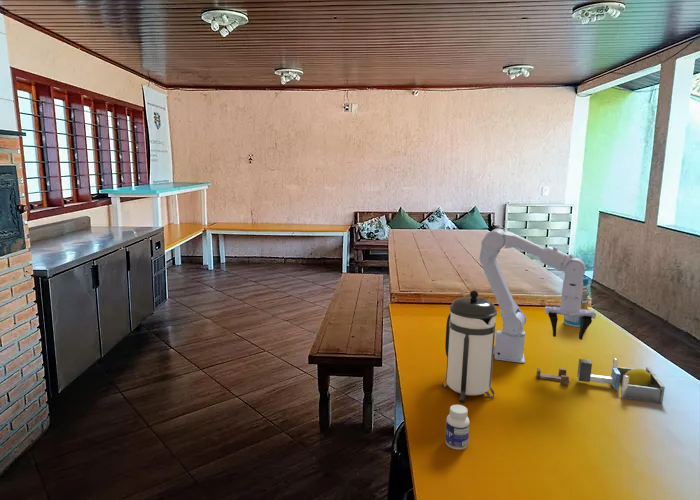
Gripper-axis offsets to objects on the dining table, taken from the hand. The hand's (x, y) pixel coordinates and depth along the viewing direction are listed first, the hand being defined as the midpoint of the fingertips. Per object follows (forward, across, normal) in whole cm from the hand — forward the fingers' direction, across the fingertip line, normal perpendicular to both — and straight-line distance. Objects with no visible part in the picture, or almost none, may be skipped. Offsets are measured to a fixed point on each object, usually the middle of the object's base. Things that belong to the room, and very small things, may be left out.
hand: (567, 337), depth 151 cm
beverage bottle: (+11, +10, +48) cm, 50 cm away
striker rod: (+10, +8, -10) cm, 16 cm away
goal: (+10, +18, -10) cm, 23 cm away
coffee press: (+11, -30, -26) cm, 41 cm away
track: (+10, -4, -10) cm, 15 cm away
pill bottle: (+11, -30, -54) cm, 63 cm away
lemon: (+9, +14, -10) cm, 20 cm away
